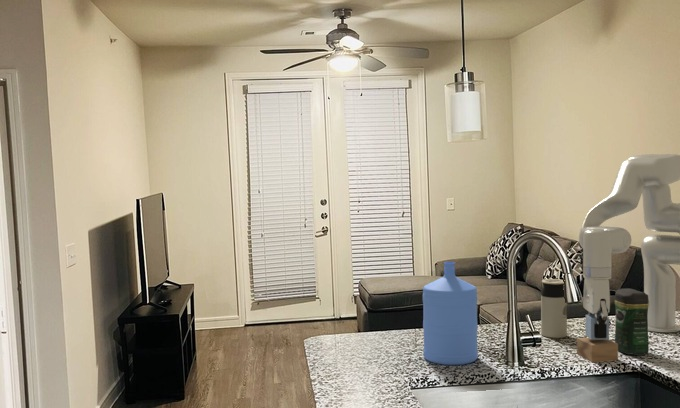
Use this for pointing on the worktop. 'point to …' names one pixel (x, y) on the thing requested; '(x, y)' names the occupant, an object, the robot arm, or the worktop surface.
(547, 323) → the travel mug
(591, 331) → the blue block
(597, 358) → the walnut block
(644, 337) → the coffee jar
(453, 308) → the water jug
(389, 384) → the worktop surface
